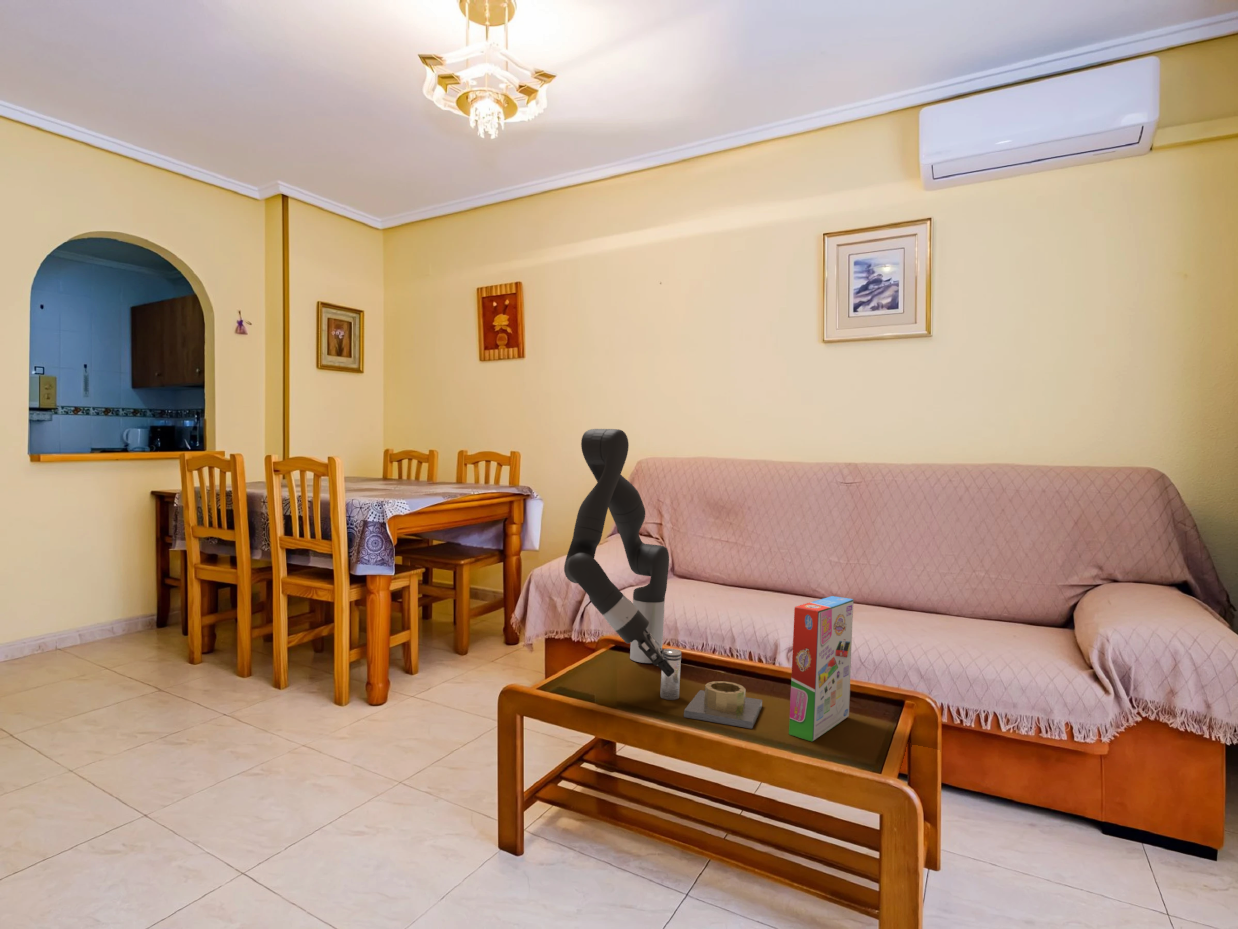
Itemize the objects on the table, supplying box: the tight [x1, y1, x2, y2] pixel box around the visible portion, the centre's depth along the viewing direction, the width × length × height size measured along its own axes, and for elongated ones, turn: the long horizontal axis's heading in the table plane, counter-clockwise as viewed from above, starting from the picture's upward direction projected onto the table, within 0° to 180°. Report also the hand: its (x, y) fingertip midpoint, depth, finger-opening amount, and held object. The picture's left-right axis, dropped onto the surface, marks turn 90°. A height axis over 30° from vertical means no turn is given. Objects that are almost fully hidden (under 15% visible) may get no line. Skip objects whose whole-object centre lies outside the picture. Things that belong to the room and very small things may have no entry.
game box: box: [788, 595, 854, 742], centre depth 147 cm, size 21×6×27 cm, turn 141°
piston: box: [659, 648, 682, 701], centre depth 161 cm, size 5×5×11 cm
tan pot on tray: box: [683, 680, 763, 730], centre depth 153 cm, size 16×15×6 cm
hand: (670, 669), depth 161 cm, fingers open, 8 cm apart
